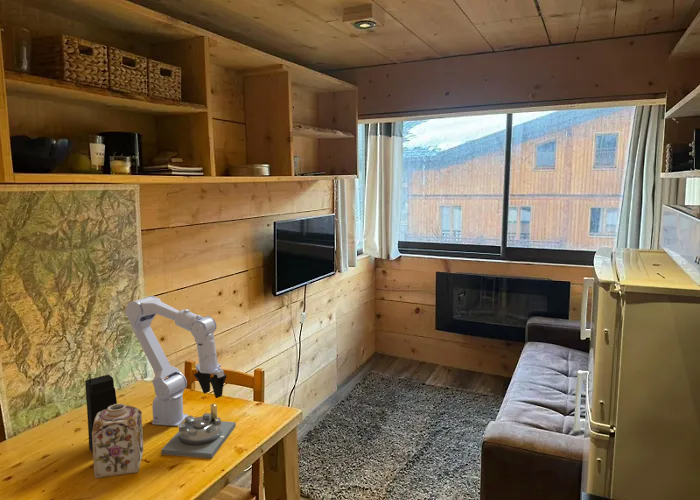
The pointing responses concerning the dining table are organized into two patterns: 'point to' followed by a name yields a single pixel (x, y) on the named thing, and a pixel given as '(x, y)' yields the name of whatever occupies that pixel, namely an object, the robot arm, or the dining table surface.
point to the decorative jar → (117, 441)
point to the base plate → (202, 450)
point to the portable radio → (98, 399)
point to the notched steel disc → (200, 428)
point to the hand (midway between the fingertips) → (212, 394)
